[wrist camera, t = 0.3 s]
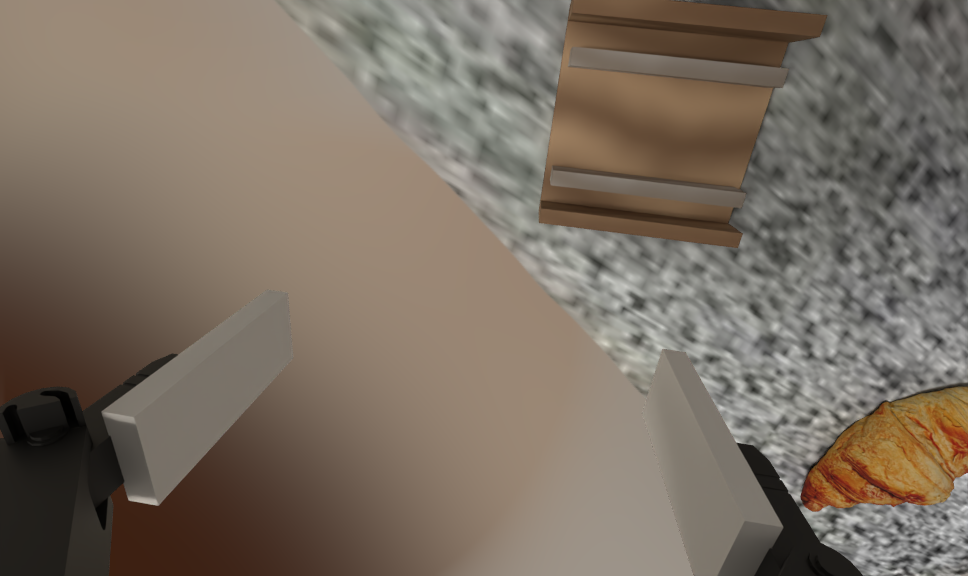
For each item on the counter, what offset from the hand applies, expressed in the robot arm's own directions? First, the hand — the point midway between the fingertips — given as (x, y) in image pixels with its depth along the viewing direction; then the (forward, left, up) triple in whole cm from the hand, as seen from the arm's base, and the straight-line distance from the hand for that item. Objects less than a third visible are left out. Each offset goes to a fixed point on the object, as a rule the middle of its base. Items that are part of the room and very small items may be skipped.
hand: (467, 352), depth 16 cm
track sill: (-7, +11, -27) cm, 30 cm away
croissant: (+20, +42, -27) cm, 54 cm away
